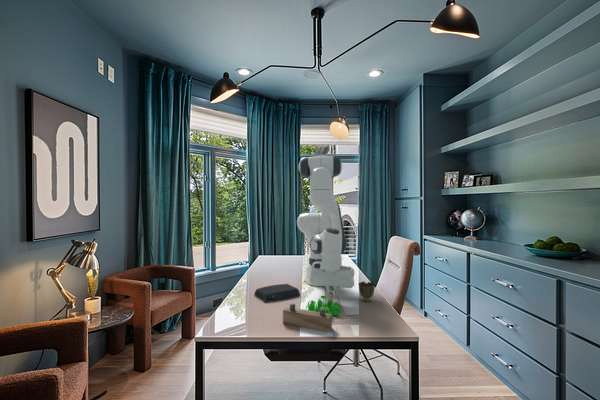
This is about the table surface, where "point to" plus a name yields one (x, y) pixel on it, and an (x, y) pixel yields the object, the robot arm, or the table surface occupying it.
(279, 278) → the table surface
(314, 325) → the walnut block
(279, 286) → the external hard drive
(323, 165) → the robot arm
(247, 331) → the table surface
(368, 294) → the cup
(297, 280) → the table surface
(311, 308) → the chandelier
